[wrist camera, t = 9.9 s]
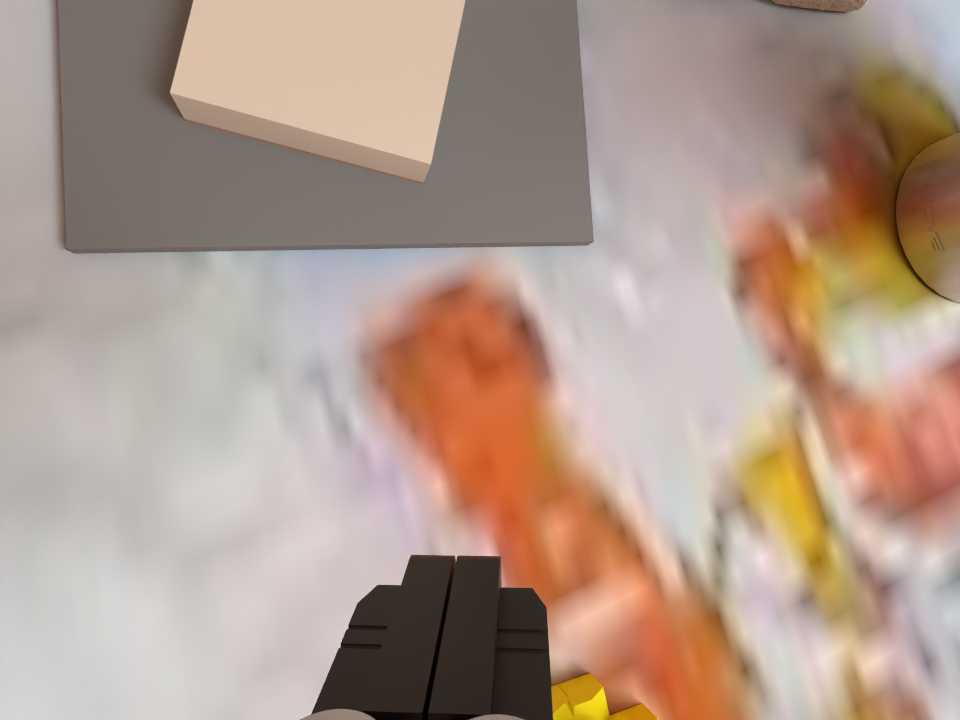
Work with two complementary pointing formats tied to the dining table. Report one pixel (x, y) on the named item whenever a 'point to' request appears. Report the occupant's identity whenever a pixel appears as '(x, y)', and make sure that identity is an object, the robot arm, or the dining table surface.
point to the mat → (313, 179)
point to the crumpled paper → (589, 702)
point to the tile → (323, 76)
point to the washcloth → (824, 4)
